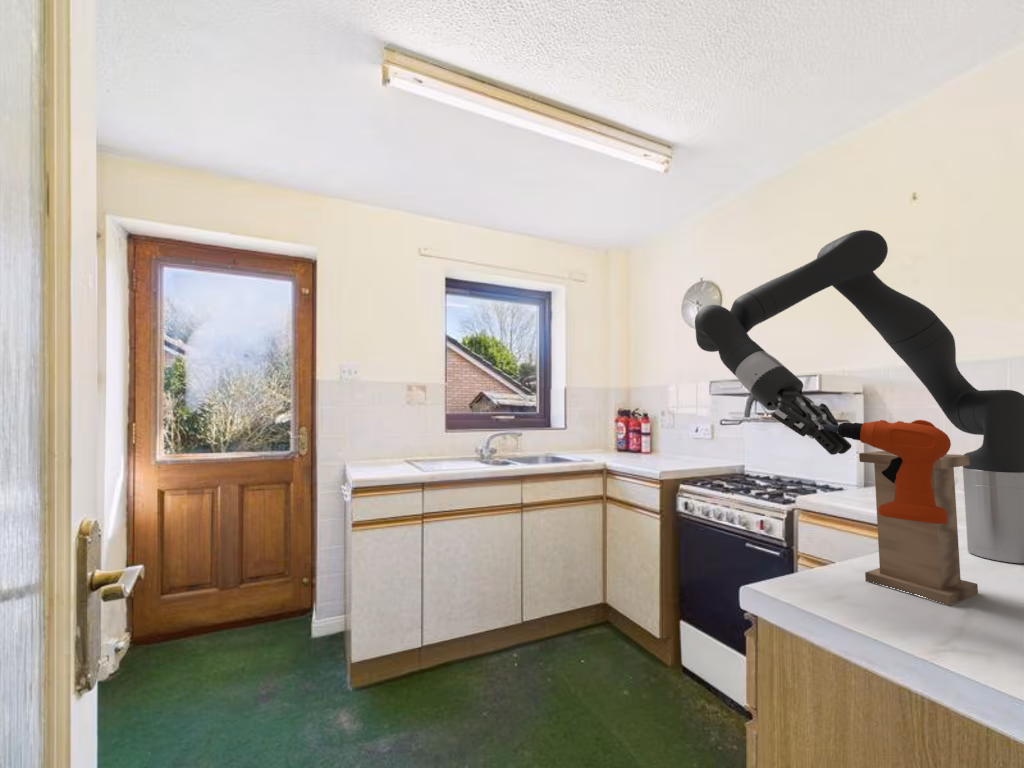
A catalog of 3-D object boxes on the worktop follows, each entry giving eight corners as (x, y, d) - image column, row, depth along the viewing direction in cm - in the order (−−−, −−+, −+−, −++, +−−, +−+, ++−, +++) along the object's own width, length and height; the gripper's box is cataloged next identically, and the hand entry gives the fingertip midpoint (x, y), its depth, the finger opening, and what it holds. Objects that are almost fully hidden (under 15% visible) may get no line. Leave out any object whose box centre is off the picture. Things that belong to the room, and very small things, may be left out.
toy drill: (802, 492, 79) (812, 408, 79) (949, 528, 64) (962, 424, 64) (791, 494, 76) (802, 407, 76) (943, 532, 61) (957, 423, 61)
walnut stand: (895, 571, 82) (888, 450, 83) (978, 593, 72) (969, 455, 73) (865, 581, 78) (859, 453, 79) (949, 606, 68) (940, 459, 69)
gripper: (756, 363, 79) (835, 437, 68) (803, 365, 85) (883, 433, 74) (730, 394, 84) (800, 468, 72) (777, 394, 90) (848, 462, 78)
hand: (842, 450), depth 73 cm, fingers closed on toy drill
